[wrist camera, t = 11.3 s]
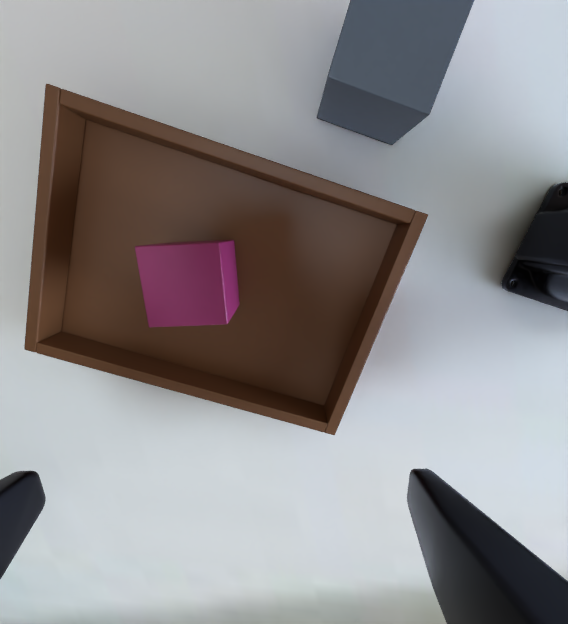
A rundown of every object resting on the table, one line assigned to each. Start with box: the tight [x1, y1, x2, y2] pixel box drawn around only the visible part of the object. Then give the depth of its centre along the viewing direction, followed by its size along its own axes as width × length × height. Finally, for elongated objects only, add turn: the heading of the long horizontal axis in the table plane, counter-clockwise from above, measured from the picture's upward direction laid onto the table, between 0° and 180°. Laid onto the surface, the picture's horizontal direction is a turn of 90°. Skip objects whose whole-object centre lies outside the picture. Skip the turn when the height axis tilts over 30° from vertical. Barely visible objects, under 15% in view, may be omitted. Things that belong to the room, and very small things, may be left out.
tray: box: [25, 84, 428, 435], centre depth 17 cm, size 19×14×3 cm
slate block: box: [317, 0, 474, 145], centre depth 14 cm, size 4×4×4 cm
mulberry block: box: [135, 240, 240, 327], centre depth 16 cm, size 4×4×4 cm
